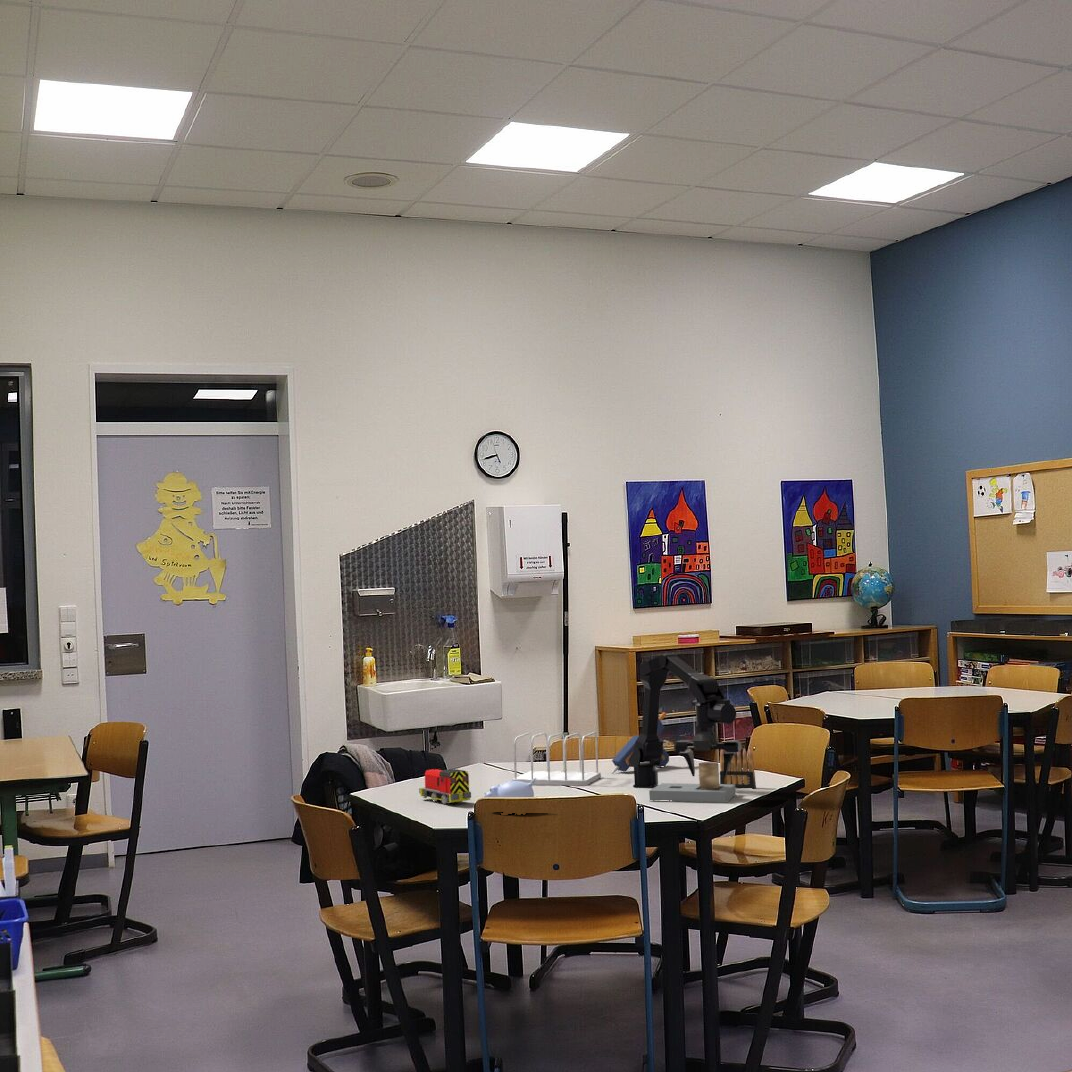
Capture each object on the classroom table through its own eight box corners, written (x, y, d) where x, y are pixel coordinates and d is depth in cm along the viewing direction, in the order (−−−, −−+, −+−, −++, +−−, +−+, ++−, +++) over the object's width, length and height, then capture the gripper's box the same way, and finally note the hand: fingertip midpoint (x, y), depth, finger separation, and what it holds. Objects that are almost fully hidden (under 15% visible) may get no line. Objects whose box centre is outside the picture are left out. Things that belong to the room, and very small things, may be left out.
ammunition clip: (720, 787, 356) (718, 748, 357) (721, 787, 357) (719, 747, 358) (754, 788, 351) (752, 748, 352) (756, 787, 353) (754, 747, 354)
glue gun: (626, 801, 399) (604, 768, 395) (673, 740, 417) (652, 708, 412) (639, 802, 394) (617, 768, 390) (685, 740, 412) (665, 707, 408)
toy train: (452, 807, 340) (451, 772, 341) (419, 800, 356) (417, 767, 357) (472, 804, 344) (470, 770, 345) (438, 797, 360) (437, 764, 361)
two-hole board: (649, 801, 337) (649, 790, 337) (662, 793, 350) (662, 783, 350) (725, 802, 329) (724, 792, 329) (735, 794, 342) (735, 784, 342)
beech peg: (698, 799, 336) (696, 764, 336) (702, 796, 341) (701, 761, 342) (717, 800, 334) (716, 764, 334) (722, 797, 339) (720, 762, 340)
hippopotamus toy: (491, 809, 335) (490, 775, 335) (542, 809, 331) (540, 775, 332) (480, 815, 324) (478, 781, 325) (532, 816, 321) (531, 781, 321)
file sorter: (511, 785, 379) (509, 736, 380) (530, 777, 395) (528, 730, 396) (585, 786, 371) (583, 736, 372) (601, 778, 387) (599, 730, 388)
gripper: (667, 724, 334) (670, 780, 333) (732, 724, 328) (735, 781, 327) (677, 720, 345) (680, 774, 344) (740, 720, 338) (743, 775, 337)
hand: (709, 776), depth 338 cm, fingers open, 9 cm apart
